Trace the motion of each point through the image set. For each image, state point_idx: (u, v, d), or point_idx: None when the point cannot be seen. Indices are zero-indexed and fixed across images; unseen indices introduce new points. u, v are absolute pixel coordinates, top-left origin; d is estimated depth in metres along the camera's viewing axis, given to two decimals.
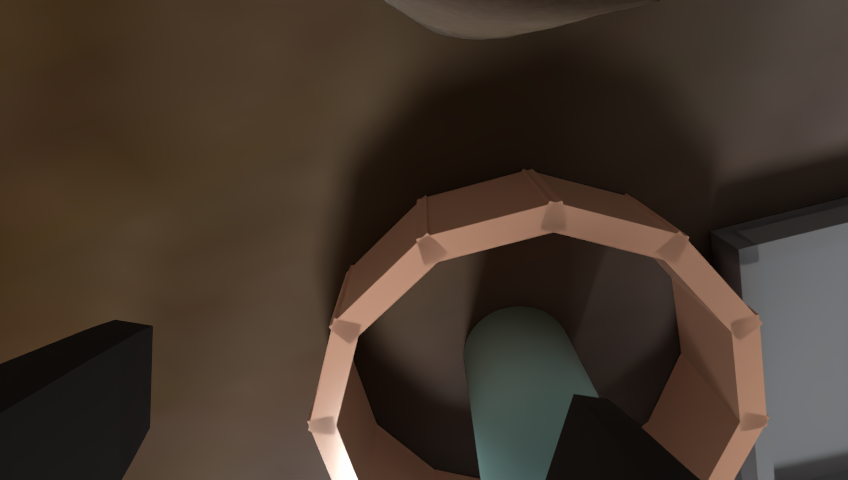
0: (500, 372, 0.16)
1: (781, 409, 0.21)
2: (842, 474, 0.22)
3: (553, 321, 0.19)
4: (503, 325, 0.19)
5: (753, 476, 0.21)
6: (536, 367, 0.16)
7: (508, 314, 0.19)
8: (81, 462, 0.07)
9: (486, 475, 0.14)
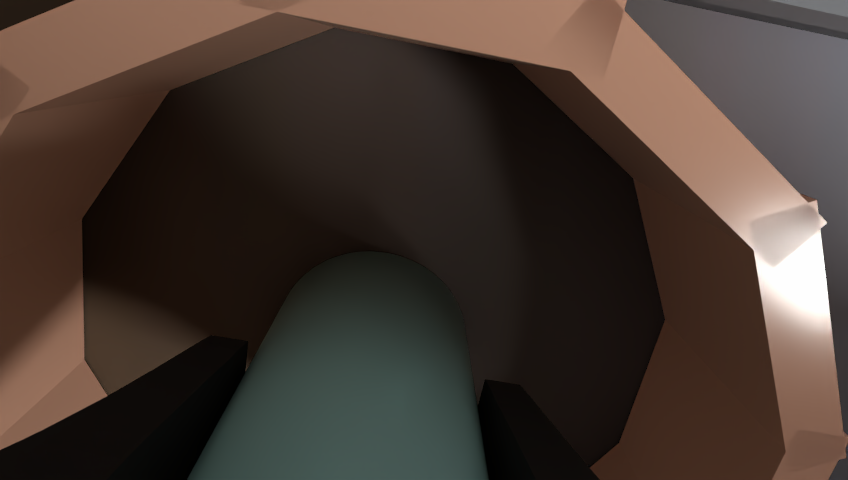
0: None
1: None
2: None
3: (317, 272, 0.10)
4: None
5: None
6: None
7: None
8: None
9: None
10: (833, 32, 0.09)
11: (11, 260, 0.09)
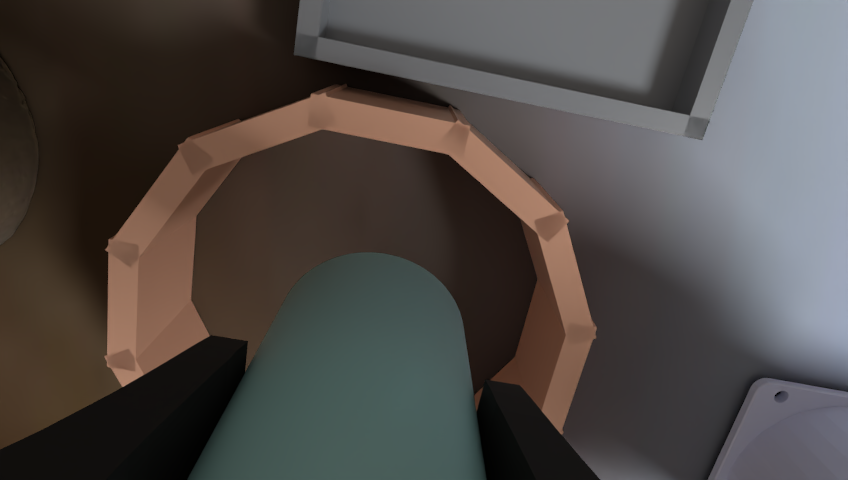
0: None
1: (566, 49, 0.16)
2: None
3: (316, 273, 0.11)
4: None
5: None
6: None
7: None
8: None
9: None
10: None
11: (171, 237, 0.17)
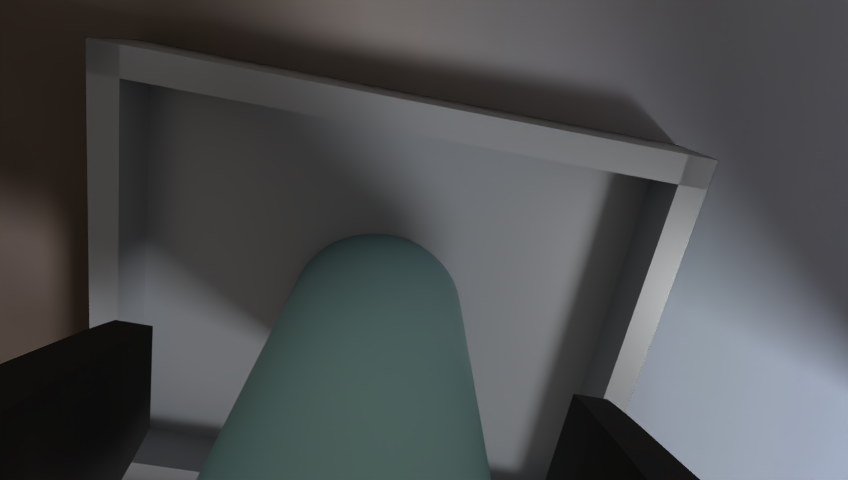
0: None
1: None
2: (588, 385, 0.14)
3: (331, 250, 0.12)
4: None
5: None
6: None
7: None
8: (81, 462, 0.07)
9: None
10: None
11: None
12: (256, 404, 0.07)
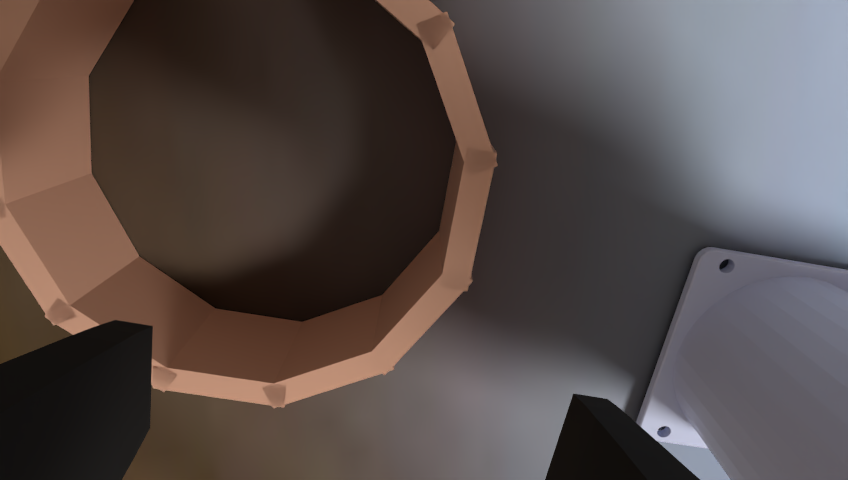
0: None
1: None
2: None
3: None
4: None
5: None
6: None
7: None
8: (81, 462, 0.07)
9: None
10: None
11: (48, 82, 0.16)
12: None
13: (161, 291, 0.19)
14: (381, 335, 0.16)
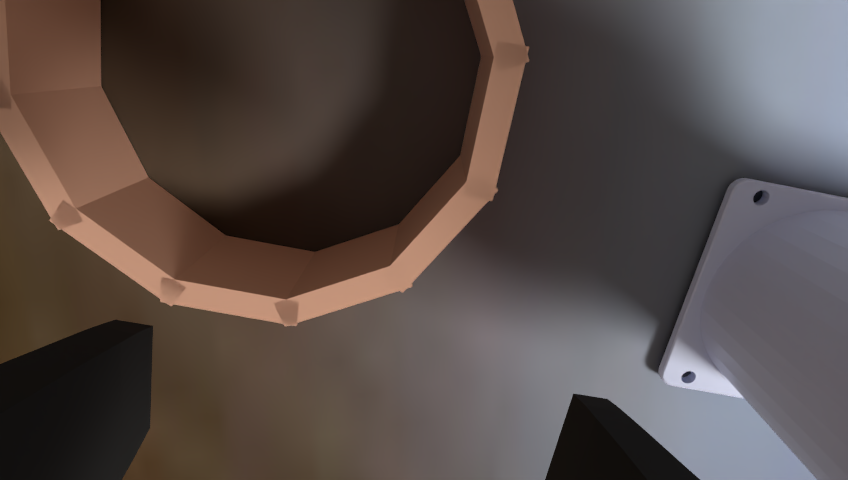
0: None
1: None
2: None
3: None
4: None
5: None
6: None
7: None
8: (81, 462, 0.07)
9: None
10: None
11: None
12: None
13: (170, 211, 0.18)
14: (400, 251, 0.16)
